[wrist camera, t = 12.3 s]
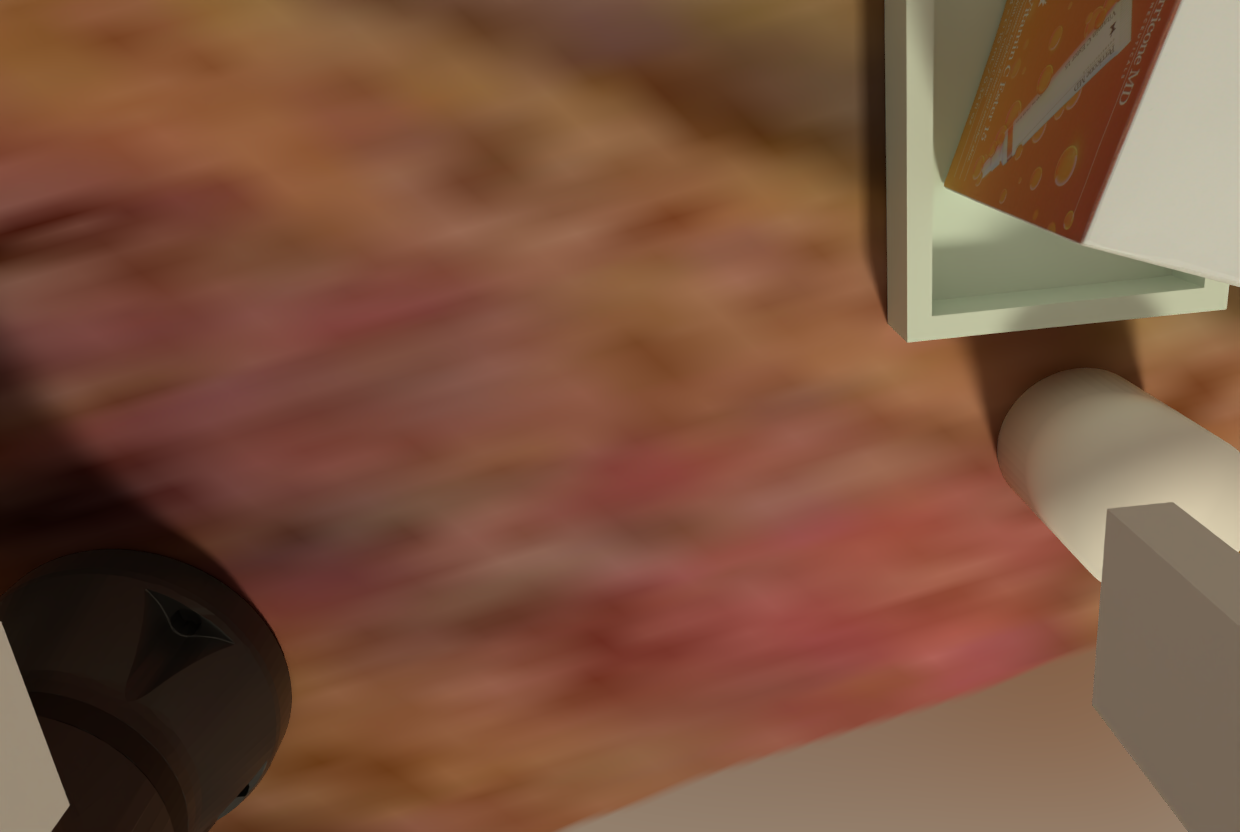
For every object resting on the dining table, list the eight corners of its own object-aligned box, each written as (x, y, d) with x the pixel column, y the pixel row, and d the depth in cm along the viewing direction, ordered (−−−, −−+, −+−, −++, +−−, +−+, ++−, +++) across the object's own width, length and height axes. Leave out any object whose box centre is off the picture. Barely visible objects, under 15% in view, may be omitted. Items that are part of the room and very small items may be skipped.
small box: (1007, -18, 38) (1199, -54, 25) (1159, 22, 38) (1418, 7, 26) (936, 190, 40) (1079, 248, 28) (1079, 225, 41) (1280, 297, 29)
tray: (887, 323, 43) (907, 342, 40) (883, -109, 37) (905, -122, 34) (1185, 292, 43) (1226, 309, 40) (1228, -148, 37) (1280, -165, 34)
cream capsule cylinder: (994, 515, 46) (1069, 604, 39) (999, 375, 44) (1080, 441, 36) (1143, 500, 46) (1247, 587, 39) (1156, 360, 44) (1269, 423, 36)
